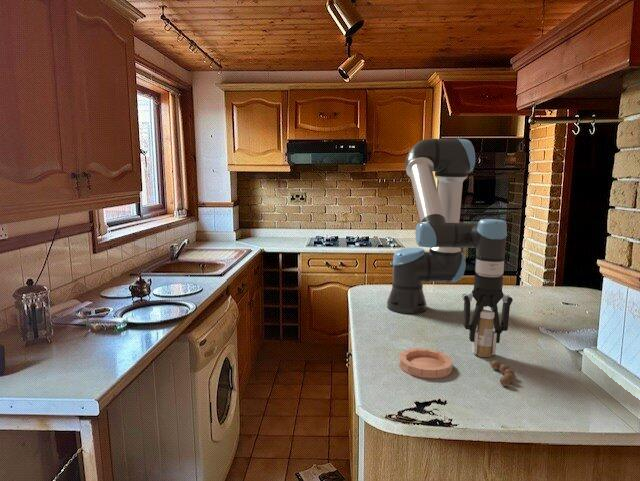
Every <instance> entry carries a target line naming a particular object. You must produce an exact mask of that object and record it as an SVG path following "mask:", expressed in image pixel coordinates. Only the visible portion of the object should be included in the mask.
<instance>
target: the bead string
mask: <svg viewBox="0 0 640 481" xmlns="http://www.w3.org/2000/svg"><path fill="white" fill-rule="evenodd" d="M490 367H491V368H492V369H493V370H499V371H500V373H501V374H504V375H503V376H501V377H500V378H499V383H500V385H501V386H503V387H509V386H510V385H511V384H512V383H514V381H515V371H514V370H513V369H511V368H510V367H509V366H508V365H507V364H501V363H500V362H499V360H492V361H491V362H490Z"/></svg>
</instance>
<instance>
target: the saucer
mask: <svg viewBox="0 0 640 481" xmlns="http://www.w3.org/2000/svg"><path fill="white" fill-rule="evenodd" d="M398 367H399V368H400V370H401V371H403V372H404V373H406V374H408V375H410V376H412V377H417V378H420V379H427V380H429V379H430V380H434V379H443V378H446V377H448V376H450V374H452V372H453V361H452V359H451V357H450V356H449V355H447V354H445V353H443V352H442V351H440V350H434V349H432V348H431V349H430V348H419V347H416V348H415V347H414V348H411V349H410V348H409V349H405V350H403V351H402V352H401V353H400V354H399V360H398Z"/></svg>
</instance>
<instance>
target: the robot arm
mask: <svg viewBox="0 0 640 481" xmlns="http://www.w3.org/2000/svg"><path fill="white" fill-rule="evenodd" d="M404 163H405V166H404V167H405V172H406V175H407V176H408V178H410V181H411V185H412V190H413V195H414V199H415V204H416V208H417V212H418V217H419V222H418V223H417V225H416V227H415V231H414V232H415V243H416V245H417V246H418V247H408V248H402V249H398V250H396V251H395V252H394V253H393V257H392V282H391V283H392V284H391V286H392V287H391V289H390V293H389V296H388V298H387V302H386V308H387V309H388V310H390V311H392V312H395V313H400V314H421V313H424V312H426V310H427V300H426V297H425V294H424V290H423V287H424V286H423V285H424V283H447V284H448V283H449V284H450V283H457V282H459V281H460V280H461V279H463V277H464V274H465V271H466V265H467V262H466V256H465V253H464V252H462V248H463V249H464V248H467V249H469V248H472V249H473V248H474V249H476V251H475V252H476V253H475V264H474V266H475V267H474V272H475V274H474V279H473V289H472V291H471V293H467V294H466V293H463V294H462V300H463V303H464V304H463V320H462V322H463V323H462V324H463V327H464V328H465V330H468V331H469V338H468V339H469V341H470V342H471V351H472V354H474V355H476V354H477V344H478V331H477V327H478V322H479V318H480V313H481V312H482V310H483V308H486V307H488V308H489V309H491V310H492V311H493V312H494V313H495V314H494V323H493V339H492V348H491V354H492V355H491V356H495V355H496V351H497V349H496V348H497V344H500V342H501V341H500V340H501V334H502V333H503V332H507V331H508V329H509V319H510V311H511V310H510V308H511V305H512V303H513V301H514V300H513V297H511V296H510V295H506V294H504V292H503V285H504V284H503V283H504V277H503V275H504V271H505V256H506V246H507V237H508V232H507V230H508V228H507V226H508V225H507V224H508V223H507V222H506V221H505V220H502V219H498V218H497V219H495V218H484V219H483V218H482V219H480V220H479V221H468V222H460V218H461V208H462V206H461V205H462V197H463V196H462V195H463V194H462V193H463V185H464V184H463V183H464V181H465V180H466V179H467V178H468V176H469V173H472V171H473V170H474V169H475V165H476V152H475V147H474V145H473V143H472V141H470V140H469V139H465V138H425V139H422V140H420V141H418V142H417V143H415V144H414V145H413V146H412V147H411V149H410V150H409V151H408V153H407V155H406V158H405V161H404ZM435 178H436V180H438V184H436V180H435ZM437 185H438V186H437ZM424 248H429V250H428V251H426V250H425V249H424ZM473 298H474V300H475V302H476V303H475V306H474V311H473V313H472V314H473V315H472V316H471V302H472V301H473ZM500 301H502V309H501V317H499V316H500V315H499V307H498V303H499V302H500ZM471 317H472V318H471ZM500 318H501V319H500ZM500 320H501V322H500Z"/></svg>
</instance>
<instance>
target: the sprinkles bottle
mask: <svg viewBox="0 0 640 481" xmlns="http://www.w3.org/2000/svg"><path fill="white" fill-rule="evenodd" d="M494 314H495V313H494V312H493V311H492V310H491V308H486V307H484V308H483V310H482V312H481V313H480V318H479V322H478V325H477V328H476V330H477V331H478V344H477V354H475V355H476V356H477V357H482V358H489V357H491V356H493V355H492V353H491V348H492V339H493V330H494V324H493V323H494Z"/></svg>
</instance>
